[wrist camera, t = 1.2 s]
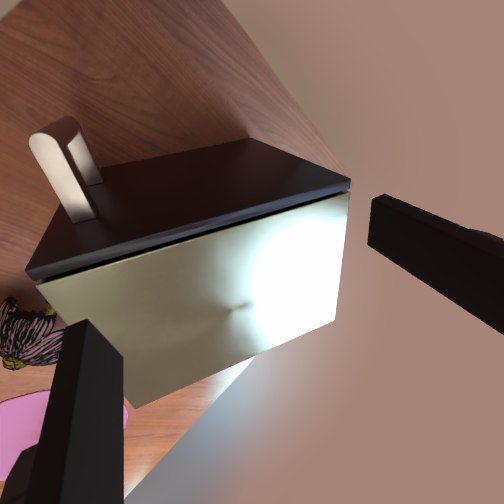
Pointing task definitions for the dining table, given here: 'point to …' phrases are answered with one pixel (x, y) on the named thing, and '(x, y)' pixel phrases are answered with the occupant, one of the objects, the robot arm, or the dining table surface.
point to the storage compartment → (210, 295)
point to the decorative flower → (28, 336)
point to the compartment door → (159, 194)
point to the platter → (22, 426)
